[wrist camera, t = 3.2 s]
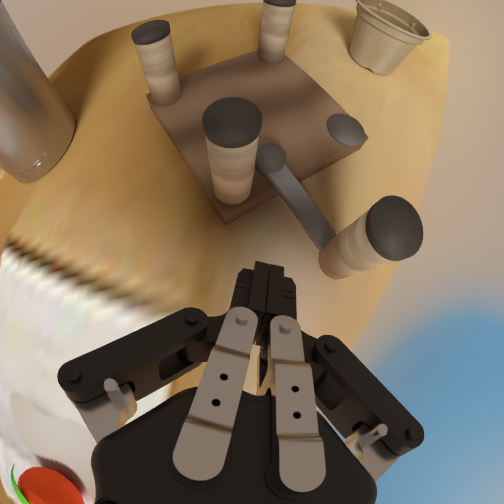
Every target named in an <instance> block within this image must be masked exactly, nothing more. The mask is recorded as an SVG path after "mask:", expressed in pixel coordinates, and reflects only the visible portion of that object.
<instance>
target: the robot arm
mask: <svg viewBox="0 0 504 504" xmlns="http://www.w3.org/2000/svg"><path fill="white" fill-rule="evenodd" d="M74 129H75V120H74V117H73V115H72V113H71V112H70V111H69V109H68V108H67V106H66V105H65V103H64V102H63V101H62V99H61V98H60V96H59V95H58V93H57V92H56V90H55V89H54V87H53V86H52V84H51V83H50V81H49V80H48V78H47V77H46V75H45V73H44V72H43V70H42V69H41V67H40V66H39V64H38V63H37V61H36V60H35V58H34V56H33V55H32V53H31V51H30V50H29V48H28V47H27V45H26V43H25V41H24V40H23V38H22V36H21V35H20V33H19V31H18V29H17V28H16V26H15V24H14V23H13V21H12V19H11V17H10V15H9V14H8V12H7V10H6V8H5V6H4V4H3V2H1V0H0V168H2V169H3V170H4V171H6V172H7V173H8V174H10V175H11V176H12V177H14V178H15V179H17V180H18V181H20V182H23V183H28V182H32V181H35V180H37V179H39V178H40V177H42V176H43V175H45V174H46V173H47V172H48V171H49V170H50V169H51V168H53V167H54V165H55V164H56V163H57V162H58V161H59V160H60V158H61V157H62V155H63V154H64V153H65V151H66V149H67V148H68V146H69V144H70V142H71V139H72V137H73V134H74ZM255 340H256V344H255V345H259V346H261V347H260V353H259V356H258V359H257V392H256V395H252V394H250V393H247V392H245V391H243V390H242V389H243V385H244V381H245V377H246V373H247V368H248V364H249V360H250V353H251V348H252V344H253V345H254V343H255ZM202 362H207V364H206V367H205V370H204V372H203V375H202V378H201V381H200V383H199V386H198V387H193V388H189V389H186V390H183V391H181V392H179V393H177V394H175V395H174V396H172V397H171V398H169V399H167V400H166V401H164V402H163V403H161V404H160V405H158V406H156V407H155V408H153V409H151V410H150V411H148V412H147V413H145V414H143V415H142V416H140V417H138V418H137V419H135V420H133V421H132V422H130V423H128V424H126V425H125V423H126V422H127V421H128V420H129V419H130V418H131V417H133V415H134V414H135V413H136V410H137V403H136V401H138V400H140V399H142V398H143V397H145V396H147V395H149V394H151V393H153V392H154V391H156V390H158V389H160V388H162V387H163V386H165V385H167V384H169V383H170V382H172V381H174V380H176V379H177V378H179V377H181V376H182V375H184V374H186V373H187V372H189V371H191V370H192V369H194V368H196V367H197V366H199V365H200V364H201V363H202ZM57 377H58V382H59V384H60V386H61V387H62V389H63V390H64V391H65V393H66V395H67V397H68V398H69V399H70V401H71V402H72V403H73V405H74V406H75V407H76V408H77V409H78V411H79V413H80V415H81V416H82V418H83V420H84V422H85V424H86V425H87V427H88V429H89V431H90V432H91V434H92V436H93V437H94V439H95V441H96V442H97V445H96V446H95V448H94V450H93V453H92V457H91V467H92V471H93V475H94V479H95V486H96V498H95V503H94V504H375V501H376V497H377V487H376V483H375V482H376V481H377V480H378V479H379V478H380V477H381V476H382V475H383V474H384V473H385V471H387V470H388V469H389V468H390V466H391V465H392V464H393V463H394V462H395V461H396V460H397V459H398V458H399V457H400V456H402V455H404V454H406V453H407V452H409V451H411V450H412V449H414V448H416V447H418V446H419V445H420V444H421V443H422V442H423V439H424V430H423V428H422V426H421V424H420V423H419V422H418V421H417V420H416V419H415V418H414V417H413V416H412V415H411V414H410V413H409V412H408V411H407V410H406V409H405V407H404V406H403V405H402V404H401V403H400V402H399V401H398V400H397V399H396V398H395V397H394V396H393V395H392V394H391V393H390V392H389V391H388V390H387V389H386V388H385V386H383V384H382V383H381V382H380V381H379V380H378V379H377V378H376V377H375V376H374V375H373V374H372V373H371V372H370V371H369V370H368V369H367V368H366V367H365V366H364V365H363V363H362V362H361V361H360V360H359V359H358V358H357V357H356V356H355V355H354V354H353V353H352V352H351V351H350V350H349V349H348V348H347V347H346V346H345V345H344V344H343V343H342V341H340V340H339V339H338V338H336V337H335V336H332V335H323V336H321V337H319V338H318V339H317V338H314V337H312V336H310V335H308V334H306V333H304V332H303V331H302V330H301V327H300V325H299V323H298V322H297V312H296V285H295V283H294V282H293V280H292V278H288V277H284V267H282V266H277V265H273V264H270V266H269V264H268V263H263V262H259V261H255V265H254V269H253V270H250V269H245V268H243V269H242V270H241V271H240V272H239V273H238V277H237V281H236V285H235V289H234V293H233V297H232V302H231V306H230V309H229V310H228V311H227V312H226V313H225V314H223V315H221V316H216V317H207V315H206V314H205V313H204V312H203V311H202V310H200V309H197V308H191V307H189V308H184V309H182V310H179V311H177V312H175V313H173V314H171V315H169V316H167V317H165V318H163V319H160V320H158V321H156V322H154V323H152V324H150V325H148V326H146V327H143V328H141V329H139V330H137V331H135V332H133V333H130V334H128V335H126V336H124V337H122V338H120V339H117V340H115V341H113V342H111V343H109V344H106V345H104V346H102V347H100V348H98V349H95V350H93V351H91V352H89V353H86V354H84V355H82V356H80V357H77V358H75V359H73V360H71V361H68V362H66V363H65V364H63V365H62V366H61V367H60V369H59V371H58V376H57ZM337 384H338V385H337ZM316 405H317V407H318V408H319V409H320V410H321V411H322V413H323V414H324V415H325V416H326V417H327V418H328V420H329V421H330V422H331V423H332V424H333V425H334V427H335V428H336V429H337V430H338V431H339V432H340V433H341V435H342V436H343V437H344V438H345V439H346V441H345V443H344V442H343V441H342V440H341V438H340V437H339V436H338V435H337V433H336V432H335V431H334V430H333V428H332V427H331V426H330V425H329V423H328V422H327V421H326V420H325V418H324V417H323V416H322V415H321V414H320V413H319V412H318V411H316ZM124 425H125V426H124Z"/></svg>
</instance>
